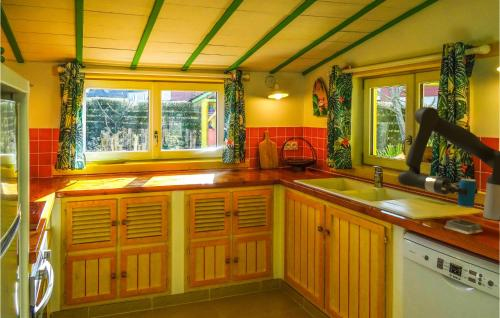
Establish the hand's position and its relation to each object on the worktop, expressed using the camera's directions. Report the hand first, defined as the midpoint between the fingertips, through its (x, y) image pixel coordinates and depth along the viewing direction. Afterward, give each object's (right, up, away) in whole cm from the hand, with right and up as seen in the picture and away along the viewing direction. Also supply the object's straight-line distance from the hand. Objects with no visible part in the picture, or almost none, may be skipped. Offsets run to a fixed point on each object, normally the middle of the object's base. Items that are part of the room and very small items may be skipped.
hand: (472, 191), depth 187 cm
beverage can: (-2, -7, +3) cm, 8 cm away
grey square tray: (-2, -17, +4) cm, 17 cm away
